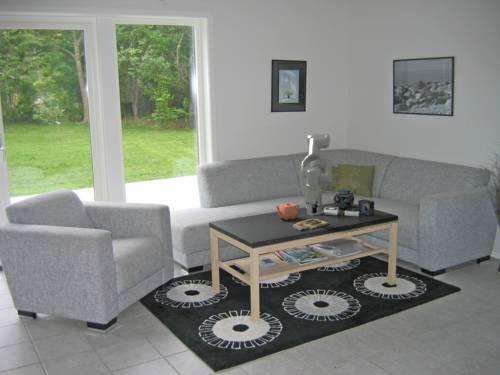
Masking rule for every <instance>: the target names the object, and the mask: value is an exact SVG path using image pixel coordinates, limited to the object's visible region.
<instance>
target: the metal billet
mask: <svg viewBox="0 0 500 375" xmlns="http://www.w3.org/2000/svg"><path fill="white" fill-rule="evenodd" d="M306 207H307V208H306V215H307V216H317V215H316V214H318V207H317V213H315V214H313V208H314V207H313V204H310V203H307V204H306Z"/></svg>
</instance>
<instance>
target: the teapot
mask: <svg viewBox="0 0 500 375" xmlns="http://www.w3.org/2000/svg"><path fill="white" fill-rule="evenodd" d="M275 208H276V210H277V213H278V216H279V217H280V218H281V219H282V218H283V220H284V221H285V220H288V221H289V219H291V220H293V219H295V220H296V218H298V215H299V213H298V210H299V209H300V204H294V203H291V202H286V203H284V204H280V206H279V205H275Z"/></svg>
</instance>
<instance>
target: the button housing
mask: <svg viewBox="0 0 500 375" xmlns="http://www.w3.org/2000/svg"><path fill="white" fill-rule="evenodd" d="M293 228H295V229H298V230H302V229H306V228H308V225H306V224H304V226H297V224H296V223H295V224H292V229H293ZM295 229H294V230H295ZM308 229H309V228H308ZM298 230H297V231H298ZM306 230H307V229H306Z"/></svg>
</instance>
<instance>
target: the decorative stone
mask: <svg viewBox="0 0 500 375" xmlns="http://www.w3.org/2000/svg"><path fill="white" fill-rule="evenodd" d="M333 202H334V205H335V206H336V207H337V208H340V209H348V208H351V207H352V205H354V202H355V196H354V193H353V192H352V191H351V190H349V189H346V188H340V189H337V191H336V192H334V194H333Z"/></svg>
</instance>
